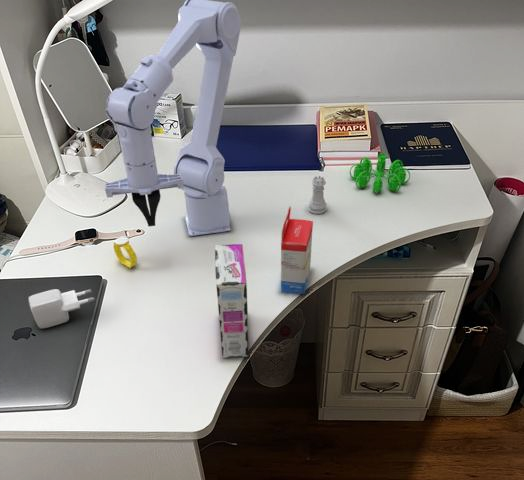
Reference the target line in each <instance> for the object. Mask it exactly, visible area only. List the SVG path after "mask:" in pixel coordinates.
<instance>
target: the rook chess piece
mask: <svg viewBox="0 0 524 480" xmlns="http://www.w3.org/2000/svg"><path fill="white" fill-rule="evenodd" d="M326 183H327V182H326V181H325V177H324V176H321V175H318V176H316V175H315V176H314V177H313V179H312V181H311V185H312V189H311V190H312V193H311V194H312V195H311V198H310V200H309V201H308V204H307V210H308V211H309V212H310V213H311V214H313V215H322V214H324V213H325V212H326V210H327V202H326V200H325V197H324V190H325V185H326Z"/></svg>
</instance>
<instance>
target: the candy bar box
mask: <svg viewBox="0 0 524 480" xmlns="http://www.w3.org/2000/svg"><path fill="white" fill-rule="evenodd" d="M214 267H215V268H214V269H215V285H216V286H215V287H216V297H217V310H218V321H219V332H220V333H219V334H220V344H221V345H220V346H221V358H222V359H235V358H236V359H237V358H249V355H250V352H249V351H250V349H249V348H250V346H249V345H250V344H249V343H250V342H249V312H248V310H249V308H248V307H249V306H248V284H247V283H248V282H247V275H246V274H247V273H246V264H245V255H244V246H243V244H242V243H233V244H231V243H230V244H218V245H217V244H216V245H214Z"/></svg>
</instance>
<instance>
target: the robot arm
mask: <svg viewBox="0 0 524 480" xmlns="http://www.w3.org/2000/svg"><path fill="white" fill-rule="evenodd" d="M241 29H242V19H241V16H240V13H239V11H238V8H237V6H236V5H235V3H233V2H229V1H226V2H223V1H216V0H185V1H184V3H183V5H182V6H181V7H180V8H179V9H178V22H177V23H176V24H175V26H174V27H173V29H172V30H171V32H170V34H169V35H168V36H167V39H166V41H165V42H164V44H162V46H161V48H160V49H159V51H158V53H156V55H153V54H151V55H150V54H149V55H147V56H144V57H142V59H141V60H140V64H139V66H138V67H137V68H136V69H135V71H134V72H133V73H132V75H131V76H130V77H129V79H127V81H126V82H125V83H124V85H123V86H122V87H116V88H115V89H114V90H112V91H111V92H110V93H109V94H108V97H107V99H106V109H105V110H104V112H105V115H106V117H107V119H108V120H109V121H110V122H112V124H113V128H114V131H115V132H116V133H117V136H118V141H119V146H120V150H121V156H122V159H123V164H124V168H125V173H126V178H122V179H119V180H116V181H112V182H106V183H104V191H105V195H106V198H107V199H108V198H113V197H114V196H119V195H126V194H131V199H132V202H133V204H134V205H135V206H136V207H137V208H138V209H139V211H140V212H141V214H142V216H143V217H144V219H145V220H146V221H145V222H146V223H147V226H148V227H155V226H156V216H157V211H158V207H159V204H160V202H161V197H162V196H161V191H160V190H167V189H174V188H177V189H178V190H179V189H181V191H183V194H184V200H185V201H184V202H185V208H186V216H184V220H185V223H186V228H187V233H188V236H189V237H195V236H202V235H207V234H209V235H210V234H215V233H223V232H224V233H225V232H230V231H231V222H230V216H231V215H230V205H229V199H228V198H229V196H228V192H227V188H226V186H225V185H224V183H225V163H226V160H225V158H224V156H223V155H222V154H221V152H220V151H219V149H218V148H217V144H218V139H219V133H220V128H221V123H222V119H223V115H224V114H223V113H224V108H225V102H226V98H227V93H228V87H229V82H230V77H231V71H232V66H233V61H234V57H235V56H236V54H237V49H238V45H239V39H240V34H241ZM194 47H196V48H197V49H198V50H199V51H201V53H202V55H203V57H204V65H203V70H202V76H201V83H200V88H199V94H198V99H197V104H196V105H197V106H196V110H195V114H194V115H195V116H194V121H193V128H192V133H191V138H190V141H189V142H188V143H186V144H185V145H184V146H182V147H181V148H179V153H178V157H177V160H176V161H175V162H174V166H173V174H165V173H164V174H163V173H159V172H158V167H157V160H156V154H155V149H154V143H153V136H152V131H151V125H152V124H153V122H154V119H155V115H156V110H157V108H158V104H159V103H158V102H159V101H160V99H161V98H162V97H163V95H164V94H165V93H166V91H167V90H168V89H169V87H170V86H171V84H173V82H174V71H173V70H174V69H175V68H176V67H177V66H178V65H179V64H180V63H181V62H182V60H183V59H185V57H186V56H187V55H188V54H189V53H190V52H191V51H192V49H194Z"/></svg>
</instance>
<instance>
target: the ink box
mask: <svg viewBox="0 0 524 480" xmlns="http://www.w3.org/2000/svg"><path fill="white" fill-rule="evenodd" d="M291 209H292V207H291V205H289V207H288V210H287V213H286V216H285V219H284V221H283V225H282V228H281V239H280V292H281V293H285V294H286V293H288V294H296V295H305V294H306V290H307V287H308V286H307V285H308V281H309V276H310V273H311V260H312V244H313V243H312V242H313V226H314V221H313V220H308V219H297V218H291V212H292V211H291Z"/></svg>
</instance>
